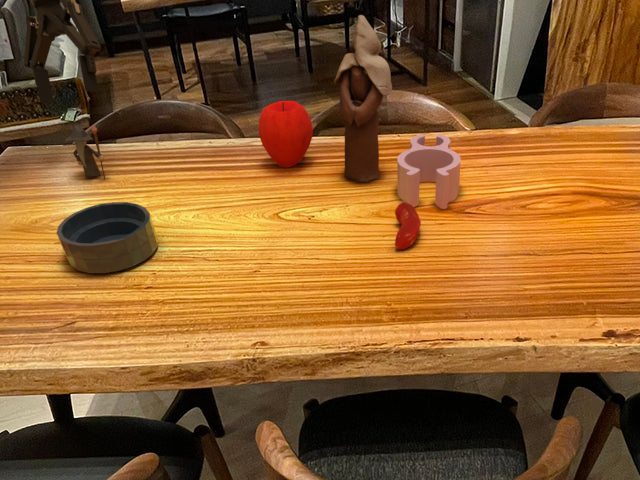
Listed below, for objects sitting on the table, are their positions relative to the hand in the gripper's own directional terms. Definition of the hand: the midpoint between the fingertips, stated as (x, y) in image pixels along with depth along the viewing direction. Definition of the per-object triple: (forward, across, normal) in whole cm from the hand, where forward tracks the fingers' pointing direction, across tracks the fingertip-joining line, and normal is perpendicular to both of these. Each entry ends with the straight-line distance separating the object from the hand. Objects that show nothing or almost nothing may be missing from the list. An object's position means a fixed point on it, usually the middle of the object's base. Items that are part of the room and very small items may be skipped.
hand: (69, 97), depth 130 cm
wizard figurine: (+16, +1, -5) cm, 17 cm away
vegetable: (+34, -70, -8) cm, 78 cm away
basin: (+32, -23, +16) cm, 43 cm away
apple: (+17, -36, -25) cm, 47 cm away
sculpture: (+21, -55, -27) cm, 64 cm away
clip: (+25, -68, -27) cm, 77 cm away
